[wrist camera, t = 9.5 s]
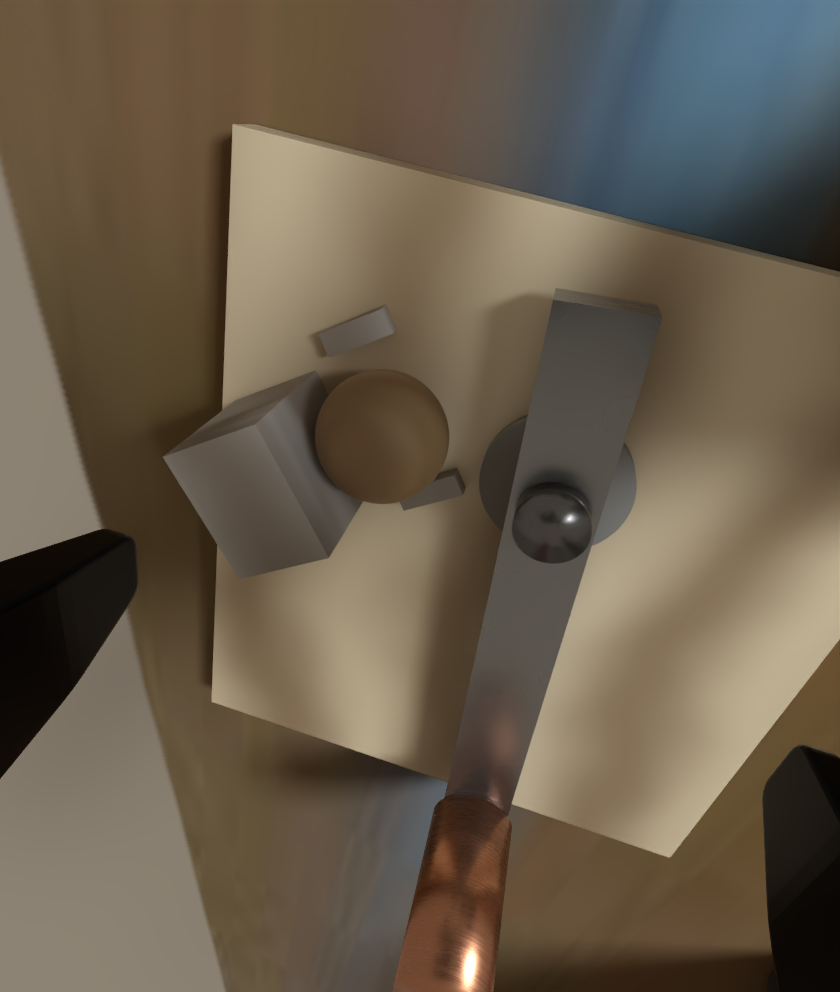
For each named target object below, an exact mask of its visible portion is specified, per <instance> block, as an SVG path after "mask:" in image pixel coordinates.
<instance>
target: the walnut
mask: <svg viewBox="0 0 840 992" xmlns="http://www.w3.org/2000/svg"><path fill="white" fill-rule="evenodd" d="M315 445H316V450H317V455H318V458H319V461H320V463H321V465H322V467H323V469H324V471H325V473H326V474H327V476H328V477H329V478H330V479H331V481H332V482H333V483H334V484H335V485H336V486H337V487H338V488H339V489H341V490H342V491H343V492H345V493H346V494H348V495H349V496H352V497H354V498H356V499H358V500H361V501H364V502H369V503H374V504H391V503H397V502H401V501H404V500H407V499H409V498H411V497H413V496H415V495H417V494H419V493H420V492H421V491H423V490H424V489H425V488H427V487H428V486H429V485H430V484H431V483H432V482H433V480H434V479H435V478H436V476H437V475H438V474H439V472H440V470H441V468H442V466H443V464H444V462H445V459H446V456H447V453H448V447H449V427H448V422H447V418H446V415H445V413H444V410H443V407H442V406H441V404H440V402H439V400H438V399H437V398H436V396H435V395H434V394H433V392H432V391H431V390H430V389H429V388H428V387H427V386H425V385H424V384H423V383H422V382H420V381H419V380H417V379H416V378H414V377H412V376H410V375H408V374H405V373H402V372H399V371H394V370H385V369H380V370H370V371H365V372H362V373H359V374H356V375H354V376H352V377H350V378H348V379H346V380H345V381H344V382H342V383H341V384H340V385H338V386H337V387H336V388H335V389H334V390H333V391H332V392H331V394H330V395H329V396H328V397H327V399H326V400H325V402H324V404H323V405H322V407H321V410H320V412H319V415H318V418H317V422H316V428H315Z"/></svg>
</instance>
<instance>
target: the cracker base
mask: <svg viewBox="0 0 840 992" xmlns="http://www.w3.org/2000/svg"><path fill="white" fill-rule="evenodd" d="M556 288H560V289H566V290H572V291H578V292H584V293H590V294H596V295H602V296H608V297H614V298H620V299H626V300H632V301H638V302H644V303H650V304H656V305H658V307H659V309H660V312H661V315H662V317H663V319H662V322H661V325H660V328H659V331H658V335H657V338H656V341H655V344H654V348H653V351H652V354H651V357H650V360H649V364H648V367H647V370H646V373H645V376H644V380H643V383H642V386H641V389H640V392H639V396H638V399H637V402H636V405H635V409H634V412H633V415H632V418H631V421H630V425H629V428H628V431H627V434H626V437H625V441H624V444H623V447H622V450H621V454H620V457H619V460H618V463H617V466H616V470H615V473H614V476H613V479H612V482H611V486H610V489H609V492H608V495H607V499H606V502H605V505H604V508H603V511H602V515H601V518H600V521H599V524H598V527H597V531H596V534H595V537H594V540H593V543H592V547H591V550H590V553H589V556H588V560H587V563H586V566H585V569H584V572H583V576H582V579H581V582H580V585H579V588H578V592H577V595H576V598H575V601H574V605H573V608H572V611H571V614H570V617H569V621H568V624H567V627H566V630H565V633H564V637H563V640H562V643H561V646H560V650H559V653H558V656H557V659H556V662H555V666H554V669H553V672H552V675H551V678H550V682H549V685H548V688H547V691H546V694H545V698H544V701H543V704H542V707H541V711H540V714H539V717H538V720H537V723H536V727H535V730H534V733H533V736H532V739H531V743H530V746H529V749H528V752H527V756H526V759H525V762H524V765H523V768H522V772H521V775H520V778H519V781H518V784H517V788H516V791H515V794H514V797H513V801H512V804H513V805H516V806H519V807H522V808H525V809H528V810H531V811H534V812H537V813H540V814H543V815H546V816H549V817H552V818H554V819H557V820H560V821H563V822H566V823H569V824H572V825H575V826H578V827H581V828H584V829H587V830H590V831H593V832H596V833H598V834H601V835H604V836H607V837H610V838H613V839H616V840H619V841H622V842H625V843H628V844H631V845H634V846H637V847H640V848H642V849H645V850H648V851H651V852H654V853H657V854H660V855H663V856H666V857H669V858H670V857H671V856H672V854H673V853H674V852H675V851H676V849H677V848H678V847H679V845H680V844H681V843H682V841H683V840H684V839H685V838H686V836H687V835H688V834H689V832H690V831H691V830H692V829H693V827H694V826H695V825H696V823H697V822H698V821H699V820H700V818H701V817H702V816H703V814H704V813H705V812H706V811H707V809H708V808H709V807H710V805H711V804H712V803H713V802H714V800H715V799H716V798H717V796H718V795H719V794H720V793H721V791H722V790H723V789H724V787H725V786H726V785H727V784H728V782H729V781H730V780H731V778H732V777H733V776H734V774H735V773H736V772H737V771H738V769H739V768H740V767H741V765H742V764H743V763H744V762H745V760H746V759H747V758H748V756H749V755H750V754H751V753H752V751H753V750H754V749H755V747H756V746H757V745H758V744H759V742H760V741H761V740H762V738H763V737H764V736H765V735H766V733H767V732H768V731H769V729H770V728H771V727H772V726H773V724H774V723H775V722H776V720H777V719H778V718H779V717H780V715H781V714H782V713H783V711H784V710H785V709H786V707H787V706H788V705H789V704H790V702H791V701H792V700H793V698H794V697H795V696H796V695H797V693H798V692H799V691H800V689H801V688H802V687H803V686H804V684H805V683H806V682H807V680H808V679H809V678H810V677H811V675H812V674H813V673H814V671H815V670H816V669H817V668H818V666H819V665H820V664H821V662H822V661H823V660H824V659H825V657H826V656H827V655H828V653H829V652H830V651H831V650H832V648H833V647H834V646H835V644H836V643H837V642H838V641H839V639H840V272H839V271H835V270H831V269H827V268H823V267H819V266H815V265H811V264H807V263H803V262H799V261H795V260H791V259H787V258H783V257H779V256H775V255H771V254H767V253H763V252H759V251H755V250H751V249H748V248H744V247H740V246H736V245H732V244H728V243H724V242H720V241H716V240H712V239H708V238H704V237H700V236H696V235H692V234H688V233H684V232H680V231H676V230H672V229H668V228H664V227H660V226H656V225H652V224H648V223H644V222H640V221H636V220H632V219H628V218H624V217H621V216H617V215H613V214H609V213H605V212H601V211H597V210H593V209H589V208H585V207H581V206H577V205H573V204H569V203H565V202H561V201H557V200H553V199H549V198H545V197H541V196H537V195H533V194H529V193H525V192H521V191H517V190H513V189H509V188H505V187H501V186H498V185H494V184H490V183H486V182H482V181H478V180H474V179H470V178H466V177H462V176H458V175H454V174H450V173H446V172H442V171H438V170H434V169H430V168H426V167H422V166H418V165H414V164H410V163H406V162H402V161H398V160H394V159H390V158H386V157H382V156H378V155H374V154H371V153H367V152H363V151H359V150H355V149H351V148H347V147H343V146H339V145H335V144H331V143H327V142H323V141H319V140H315V139H311V138H307V137H303V136H299V135H295V134H291V133H287V132H283V131H279V130H275V129H271V128H267V127H263V126H259V125H255V124H233V130H232V158H231V185H230V212H229V239H228V267H227V294H226V321H225V349H224V376H223V403H222V411H221V412H220V413H218V414H217V415H216V416H215V417H213V418H212V419H211V420H209V421H208V422H207V423H206V424H204V425H203V426H202V427H200V428H199V429H198V430H197V431H195V432H194V433H193V434H191V435H190V436H189V437H188V438H186V439H185V440H184V441H182V442H181V443H180V444H179V445H177V446H176V447H175V448H173V449H172V450H171V451H170V452H168V453H167V454H166V455H164V456H163V459H164V460H165V462H166V463H167V465H168V467H169V468H170V470H171V471H172V473H173V474H174V476H175V478H176V479H177V481H178V482H179V484H180V486H181V487H182V489H183V490H184V492H185V494H186V495H187V497H188V498H189V500H190V502H191V503H192V505H193V506H194V508H195V510H196V511H197V513H198V514H199V516H200V518H201V519H202V521H203V522H204V524H205V526H206V527H207V529H208V530H209V532H210V534H211V535H212V537H213V538H214V540H215V541H216V543H217V567H216V594H215V621H214V649H213V676H212V702H214V703H217V704H220V705H223V706H226V707H229V708H232V709H235V710H238V711H241V712H244V713H246V714H249V715H252V716H255V717H258V718H261V719H264V720H267V721H270V722H273V723H276V724H279V725H282V726H285V727H288V728H290V729H293V730H296V731H299V732H302V733H305V734H308V735H311V736H314V737H317V738H320V739H323V740H326V741H329V742H332V743H334V744H337V745H340V746H343V747H346V748H349V749H352V750H355V751H358V752H361V753H364V754H367V755H370V756H373V757H376V758H378V759H381V760H384V761H387V762H390V763H393V764H396V765H399V766H402V767H405V768H408V769H411V770H414V771H417V772H420V773H422V774H425V775H428V776H431V777H434V778H437V779H440V780H443V781H446V782H448V780H449V775H450V771H451V766H452V762H453V757H454V752H455V748H456V743H457V739H458V734H459V730H460V725H461V720H462V716H463V711H464V707H465V702H466V697H467V693H468V688H469V684H470V679H471V674H472V670H473V665H474V661H475V656H476V651H477V647H478V642H479V638H480V633H481V628H482V624H483V619H484V615H485V610H486V605H487V601H488V596H489V592H490V587H491V583H492V578H493V573H494V569H495V564H496V560H497V555H498V550H499V546H500V541H501V537H502V532H503V527H504V523H505V518H506V514H507V509H508V504H509V500H510V495H511V491H512V486H513V481H514V477H515V472H516V468H517V463H518V458H519V454H520V449H521V445H522V440H523V436H524V431H525V426H526V422H527V417H528V413H529V408H530V403H531V399H532V394H533V390H534V385H535V380H536V376H537V371H538V367H539V362H540V357H541V353H542V348H543V344H544V339H545V334H546V330H547V325H548V321H549V316H550V312H551V307H552V302H553V298H554V293H555V289H556ZM380 369H385V370H394V371H399V372H402V373H405V374H408V375H410V376H412V377H414V378H416V379H417V380H419V381H420V382H422V383H423V384H424V385H425V386H427V387H428V388H429V389H430V390H431V391H432V392H433V394H434V395H435V396H436V398H437V399H438V400H439V402H440V404H441V406H442V407H443V410H444V413H445V415H446V418H447V422H448V427H449V447H448V453H447V456H446V459H445V462H444V464H443V466H442V468H441V470H440V472H439V474H438V475H437V476H436V478H435V479H434V480H433V482H432V483H431V484H430V485H429V486H428V487H427V488H425V489H424V490H423V491H421V492H420V493H419V494H417V495H415V496H413V497H411V498H409V499H407V500H404V501H401V502H397V503H391V504H374V503H369V502H364V501H361V500H358V499H356V498H354V497H352V496H349V495H348V494H346V493H345V492H343V491H342V490H341V489H339V488H338V487H337V486H336V485H335V484H334V483H333V482H332V481H331V479H330V478H329V477H328V476H327V474H326V473H325V471H324V469H323V467H322V465H321V463H320V461H319V458H318V455H317V450H316V445H315V428H316V422H317V418H318V415H319V412H320V410H321V407H322V405H323V404H324V402H325V400H326V399H327V397H328V396H329V395H330V394H331V392H332V391H333V390H334V389H335V388H336V387H337V386H338V385H340V384H341V383H342V382H344V381H345V380H346V379H348V378H350V377H352V376H354V375H356V374H359V373H362V372H365V371H370V370H380Z"/></svg>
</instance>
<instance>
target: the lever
mask: <svg viewBox="0 0 840 992" xmlns="http://www.w3.org/2000/svg"><path fill="white" fill-rule="evenodd" d="M662 319H663V317H662V315H661V312H660V309H659V307H658V305H656V304H650V303H644V302H638V301H632V300H626V299H620V298H614V297H608V296H602V295H596V294H590V293H584V292H578V291H572V290H566V289H560V288H556V289H555V293H554V298H553V302H552V307H551V312H550V316H549V321H548V325H547V330H546V334H545V339H544V344H543V348H542V353H541V357H540V362H539V367H538V371H537V376H536V380H535V385H534V390H533V394H532V399H531V403H530V408H529V413H528V417H527V422H526V426H525V431H524V436H523V440H522V445H521V449H520V454H519V458H518V463H517V468H516V472H515V477H514V481H513V486H512V491H511V495H510V500H509V504H508V509H507V514H506V518H505V523H504V527H503V532H502V537H501V541H500V546H499V550H498V555H497V560H496V564H495V569H494V573H493V578H492V583H491V587H490V592H489V596H488V601H487V605H486V610H485V615H484V619H483V624H482V628H481V633H480V638H479V642H478V647H477V651H476V656H475V661H474V665H473V670H472V674H471V679H470V684H469V688H468V693H467V697H466V702H465V707H464V711H463V716H462V720H461V725H460V730H459V734H458V739H457V743H456V748H455V752H454V757H453V762H452V766H451V771H450V775H449V780H448V785H447V789H446V794H445V798H444V799H442V800H441V801H439V802H438V803H437V804H436V806H435V808H434V812H433V816H432V820H431V825H430V829H429V833H428V838H427V842H426V846H425V851H424V855H423V860H422V864H421V868H420V873H419V877H418V881H417V886H416V890H415V894H414V899H413V903H412V907H411V912H410V916H409V920H408V925H407V929H406V933H405V938H404V942H403V946H402V951H401V955H400V959H399V964H398V968H397V972H396V977H395V981H394V986H393V992H493V990H494V982H495V973H496V964H497V955H498V946H499V938H500V929H501V920H502V911H503V902H504V893H505V885H506V876H507V867H508V858H509V849H510V841H511V832H512V825H511V821H510V819H509V818H508V813H509V810H510V807H511V804H512V801H513V797H514V794H515V791H516V788H517V784H518V781H519V778H520V775H521V772H522V768H523V765H524V762H525V759H526V756H527V752H528V749H529V746H530V743H531V739H532V736H533V733H534V730H535V727H536V723H537V720H538V717H539V714H540V711H541V707H542V704H543V701H544V698H545V694H546V691H547V688H548V685H549V682H550V678H551V675H552V672H553V669H554V666H555V662H556V659H557V656H558V653H559V650H560V646H561V643H562V640H563V637H564V633H565V630H566V627H567V624H568V621H569V617H570V614H571V611H572V608H573V605H574V601H575V598H576V595H577V592H578V588H579V585H580V582H581V579H582V576H583V572H584V569H585V566H586V563H587V560H588V556H589V553H590V550H591V547H592V543H593V540H594V537H595V534H596V531H597V527H598V524H599V521H600V518H601V515H602V511H603V508H604V505H605V502H606V499H607V495H608V492H609V489H610V486H611V482H612V479H613V476H614V473H615V470H616V466H617V463H618V460H619V457H620V454H621V450H622V447H623V444H624V441H625V437H626V434H627V431H628V428H629V425H630V421H631V418H632V415H633V412H634V409H635V405H636V402H637V399H638V396H639V392H640V389H641V386H642V383H643V380H644V376H645V373H646V370H647V367H648V364H649V360H650V357H651V354H652V351H653V348H654V344H655V341H656V338H657V335H658V331H659V328H660V325H661V322H662Z"/></svg>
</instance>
